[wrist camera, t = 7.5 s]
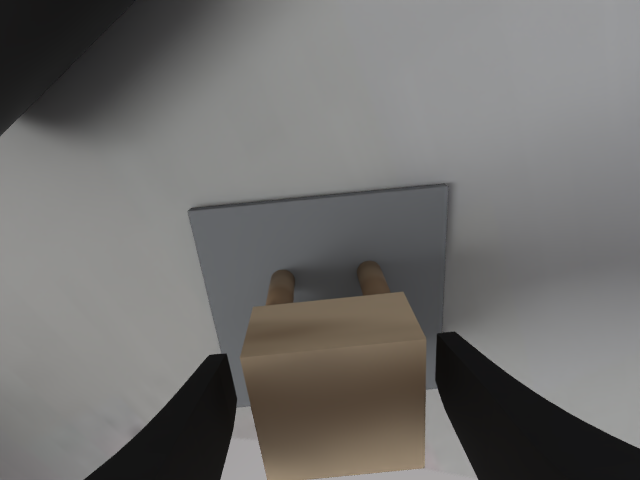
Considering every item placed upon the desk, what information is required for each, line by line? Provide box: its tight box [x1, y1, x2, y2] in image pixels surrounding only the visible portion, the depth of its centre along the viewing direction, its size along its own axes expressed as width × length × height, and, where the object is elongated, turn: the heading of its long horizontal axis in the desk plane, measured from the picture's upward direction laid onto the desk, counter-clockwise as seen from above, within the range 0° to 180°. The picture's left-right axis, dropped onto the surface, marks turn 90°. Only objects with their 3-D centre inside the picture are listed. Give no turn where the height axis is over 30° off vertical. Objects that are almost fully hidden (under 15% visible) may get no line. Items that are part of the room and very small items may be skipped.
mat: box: [188, 184, 448, 407], centre depth 16 cm, size 10×10×1 cm
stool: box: [240, 261, 426, 480], centre depth 13 cm, size 5×5×6 cm
